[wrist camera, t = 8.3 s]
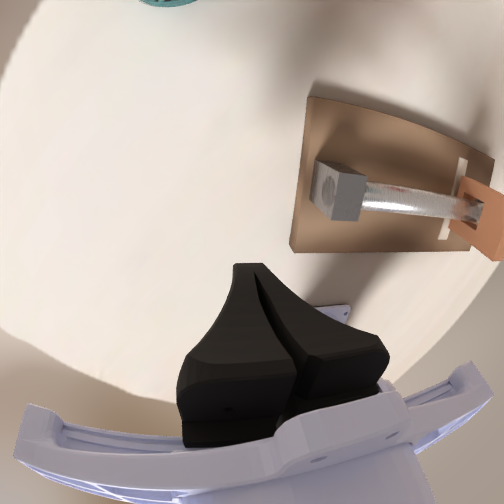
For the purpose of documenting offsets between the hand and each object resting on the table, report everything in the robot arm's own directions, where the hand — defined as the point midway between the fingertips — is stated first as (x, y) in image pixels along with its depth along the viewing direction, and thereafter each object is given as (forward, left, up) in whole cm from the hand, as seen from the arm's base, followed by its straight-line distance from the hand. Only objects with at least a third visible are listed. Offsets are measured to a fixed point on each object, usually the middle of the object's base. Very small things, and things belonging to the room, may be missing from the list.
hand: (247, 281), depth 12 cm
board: (+3, -17, -9) cm, 20 cm away
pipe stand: (+3, -17, -8) cm, 19 cm away
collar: (+3, -22, -7) cm, 24 cm away
